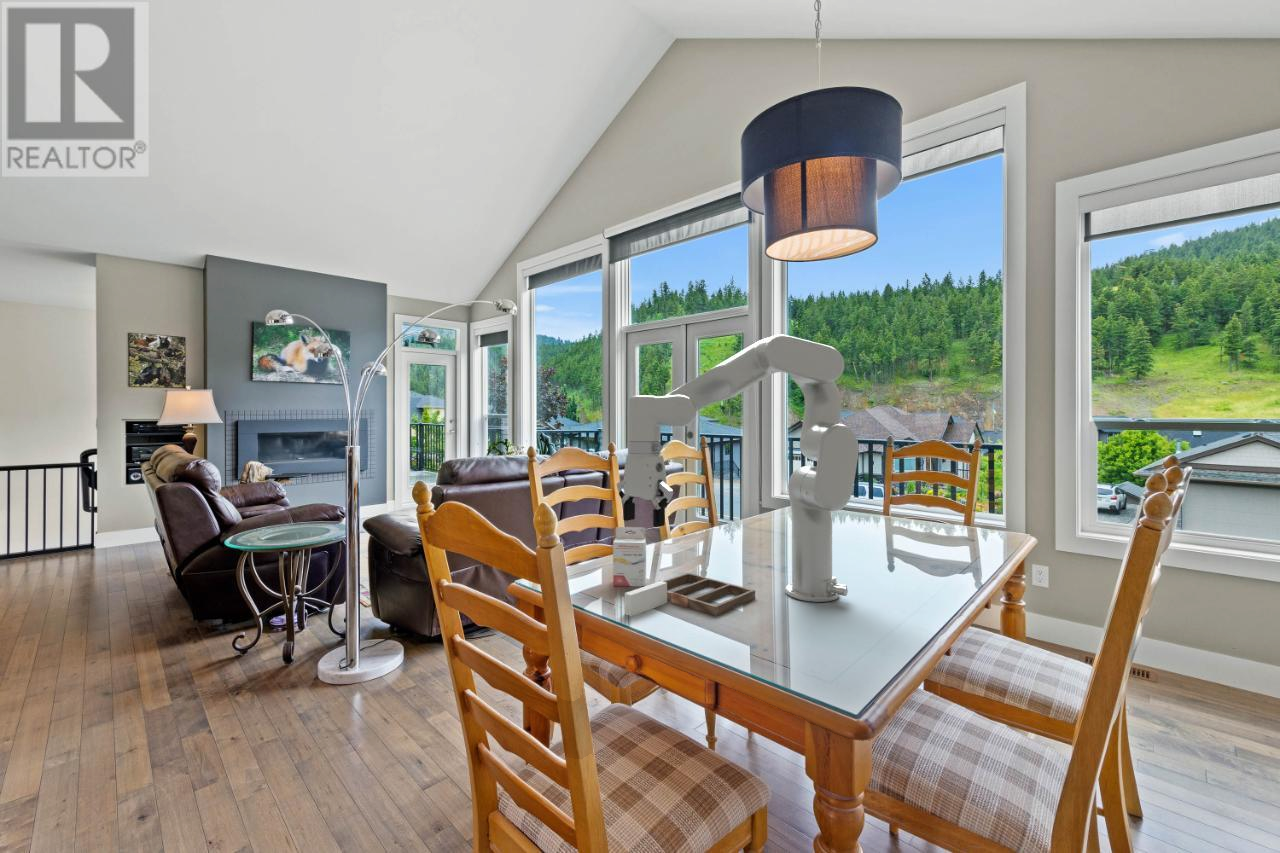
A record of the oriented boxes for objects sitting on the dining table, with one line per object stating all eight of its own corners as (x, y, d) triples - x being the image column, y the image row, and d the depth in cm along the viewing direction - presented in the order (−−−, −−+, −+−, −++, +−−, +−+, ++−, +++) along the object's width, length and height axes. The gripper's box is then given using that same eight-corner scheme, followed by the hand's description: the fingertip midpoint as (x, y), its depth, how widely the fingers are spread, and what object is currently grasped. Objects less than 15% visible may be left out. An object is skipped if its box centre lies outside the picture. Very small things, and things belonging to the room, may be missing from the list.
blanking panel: (667, 603, 131) (667, 582, 131) (631, 617, 123) (630, 595, 123) (661, 601, 133) (660, 581, 132) (624, 615, 124) (624, 593, 124)
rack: (755, 598, 133) (755, 588, 133) (715, 616, 122) (715, 605, 122) (688, 580, 148) (688, 571, 148) (647, 594, 137) (647, 584, 137)
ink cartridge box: (612, 586, 144) (611, 530, 144) (615, 580, 149) (614, 526, 149) (645, 587, 143) (644, 530, 143) (646, 581, 148) (646, 526, 148)
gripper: (683, 450, 123) (682, 526, 124) (629, 446, 135) (629, 515, 136) (660, 451, 118) (659, 531, 118) (607, 447, 130) (606, 519, 130)
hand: (643, 522), depth 127 cm, fingers open, 9 cm apart
